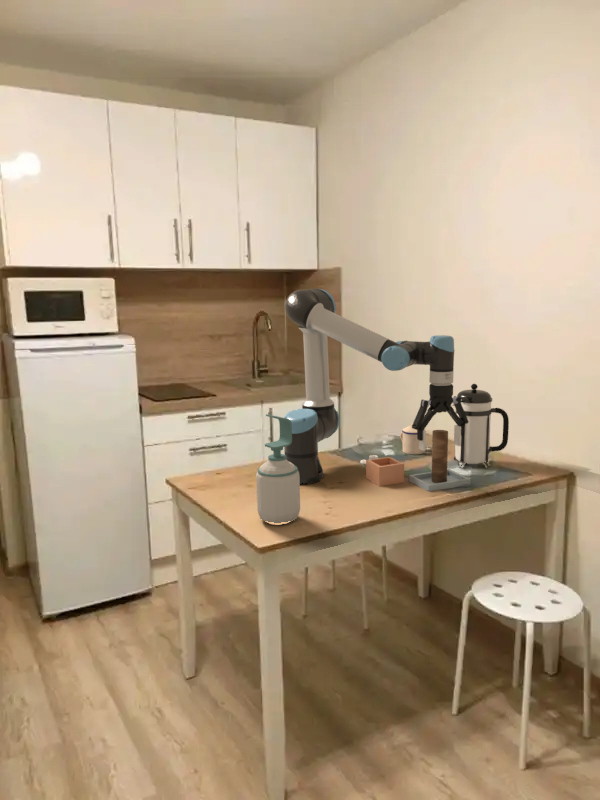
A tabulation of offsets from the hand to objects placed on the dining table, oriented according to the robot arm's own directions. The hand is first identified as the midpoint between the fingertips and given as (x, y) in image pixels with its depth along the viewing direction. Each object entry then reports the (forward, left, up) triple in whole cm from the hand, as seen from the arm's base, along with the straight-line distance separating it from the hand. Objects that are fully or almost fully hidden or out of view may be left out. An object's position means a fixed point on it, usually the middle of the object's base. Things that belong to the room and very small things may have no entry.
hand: (439, 447), depth 201 cm
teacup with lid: (+13, +39, -13) cm, 43 cm away
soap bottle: (-59, -7, -13) cm, 61 cm away
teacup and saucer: (-9, +31, -13) cm, 35 cm away
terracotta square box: (-15, +10, -13) cm, 22 cm away
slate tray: (0, 0, -13) cm, 13 cm away
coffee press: (+25, +14, -13) cm, 31 cm away
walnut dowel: (0, 0, -12) cm, 12 cm away
